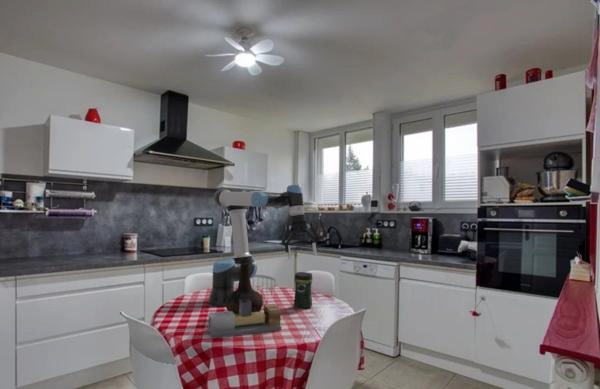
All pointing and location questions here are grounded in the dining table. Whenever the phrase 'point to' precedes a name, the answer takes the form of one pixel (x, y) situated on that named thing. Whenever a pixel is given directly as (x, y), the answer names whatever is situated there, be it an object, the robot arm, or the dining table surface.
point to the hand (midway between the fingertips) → (302, 257)
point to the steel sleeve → (221, 321)
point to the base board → (245, 330)
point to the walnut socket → (272, 315)
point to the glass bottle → (244, 291)
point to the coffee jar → (303, 290)
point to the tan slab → (248, 314)
